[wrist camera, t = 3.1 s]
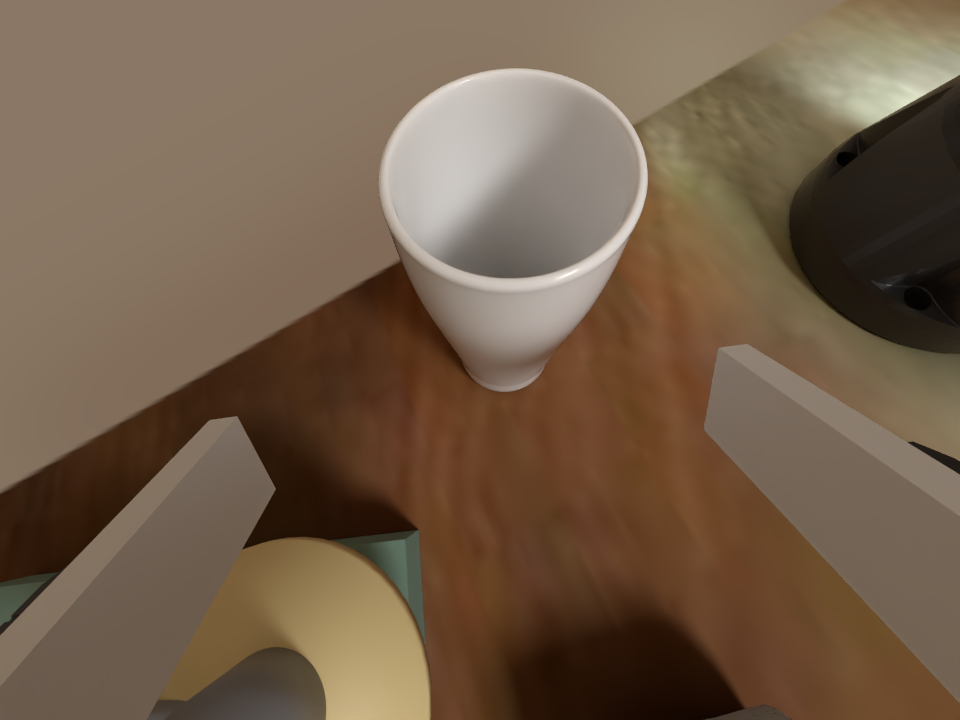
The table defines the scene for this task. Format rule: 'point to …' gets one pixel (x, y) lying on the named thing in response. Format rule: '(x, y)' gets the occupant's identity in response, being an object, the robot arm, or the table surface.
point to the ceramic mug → (754, 714)
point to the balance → (301, 635)
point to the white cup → (511, 212)
